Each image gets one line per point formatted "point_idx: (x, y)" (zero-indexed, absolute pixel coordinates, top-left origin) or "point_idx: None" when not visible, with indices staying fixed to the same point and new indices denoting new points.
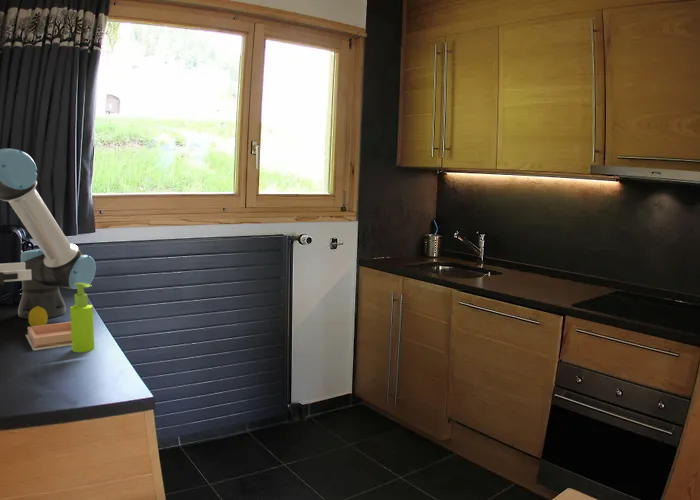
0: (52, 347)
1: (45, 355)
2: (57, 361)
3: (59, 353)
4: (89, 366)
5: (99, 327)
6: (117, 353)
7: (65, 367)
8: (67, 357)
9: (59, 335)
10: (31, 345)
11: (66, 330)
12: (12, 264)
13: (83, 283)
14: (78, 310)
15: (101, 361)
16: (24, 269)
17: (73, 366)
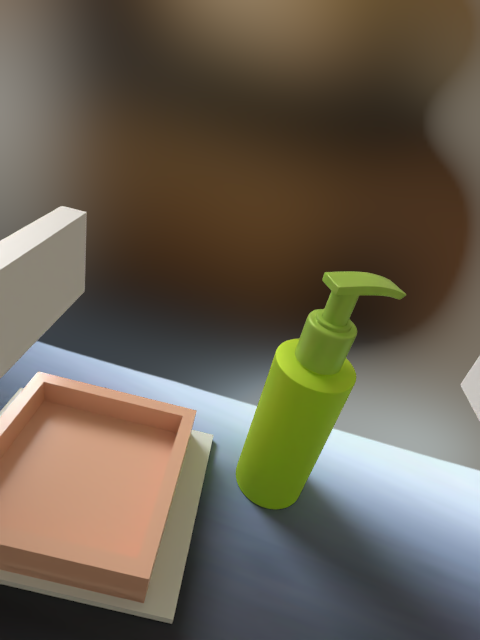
0: (186, 539)
1: (245, 597)
2: (345, 590)
3: (250, 544)
4: (434, 531)
5: (55, 350)
6: (338, 431)
7: (426, 595)
8: (313, 543)
9: (176, 482)
10: (88, 596)
11: (38, 422)
12: (25, 264)
13: (369, 278)
14: (351, 388)
15: (396, 488)
16: (82, 274)
17: (422, 569)
